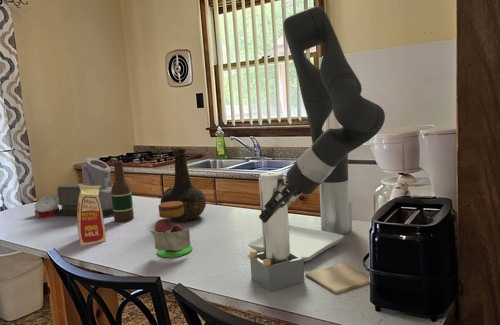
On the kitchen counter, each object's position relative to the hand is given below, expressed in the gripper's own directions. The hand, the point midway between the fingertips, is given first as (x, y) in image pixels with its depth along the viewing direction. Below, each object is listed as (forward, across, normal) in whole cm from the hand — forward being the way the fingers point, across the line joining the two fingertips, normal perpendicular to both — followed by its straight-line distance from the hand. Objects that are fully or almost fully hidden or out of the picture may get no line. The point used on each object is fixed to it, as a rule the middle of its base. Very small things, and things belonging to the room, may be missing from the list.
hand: (268, 215), depth 103 cm
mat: (+1, -6, +22) cm, 23 cm away
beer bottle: (+70, -26, -47) cm, 88 cm away
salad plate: (+15, -22, +10) cm, 28 cm away
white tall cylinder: (+9, 0, +12) cm, 15 cm away
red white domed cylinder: (+99, -20, -76) cm, 126 cm away
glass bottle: (+54, -37, -30) cm, 72 cm away
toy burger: (+38, -5, -15) cm, 41 cm away
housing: (+10, 0, +12) cm, 16 cm away
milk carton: (+63, -4, -40) cm, 75 cm away
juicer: (+86, -29, -63) cm, 111 cm away
